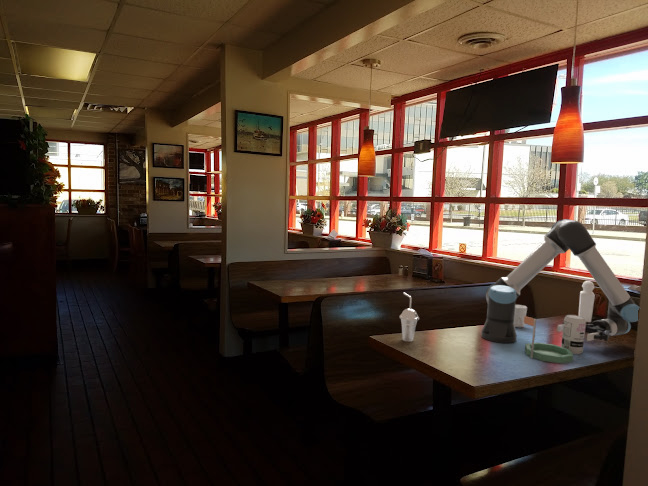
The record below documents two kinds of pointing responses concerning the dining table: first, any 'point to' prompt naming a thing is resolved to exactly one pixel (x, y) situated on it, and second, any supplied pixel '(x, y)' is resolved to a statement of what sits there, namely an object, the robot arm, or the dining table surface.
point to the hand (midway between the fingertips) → (572, 332)
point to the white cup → (519, 315)
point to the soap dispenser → (586, 301)
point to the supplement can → (573, 333)
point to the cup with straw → (408, 322)
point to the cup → (546, 348)
